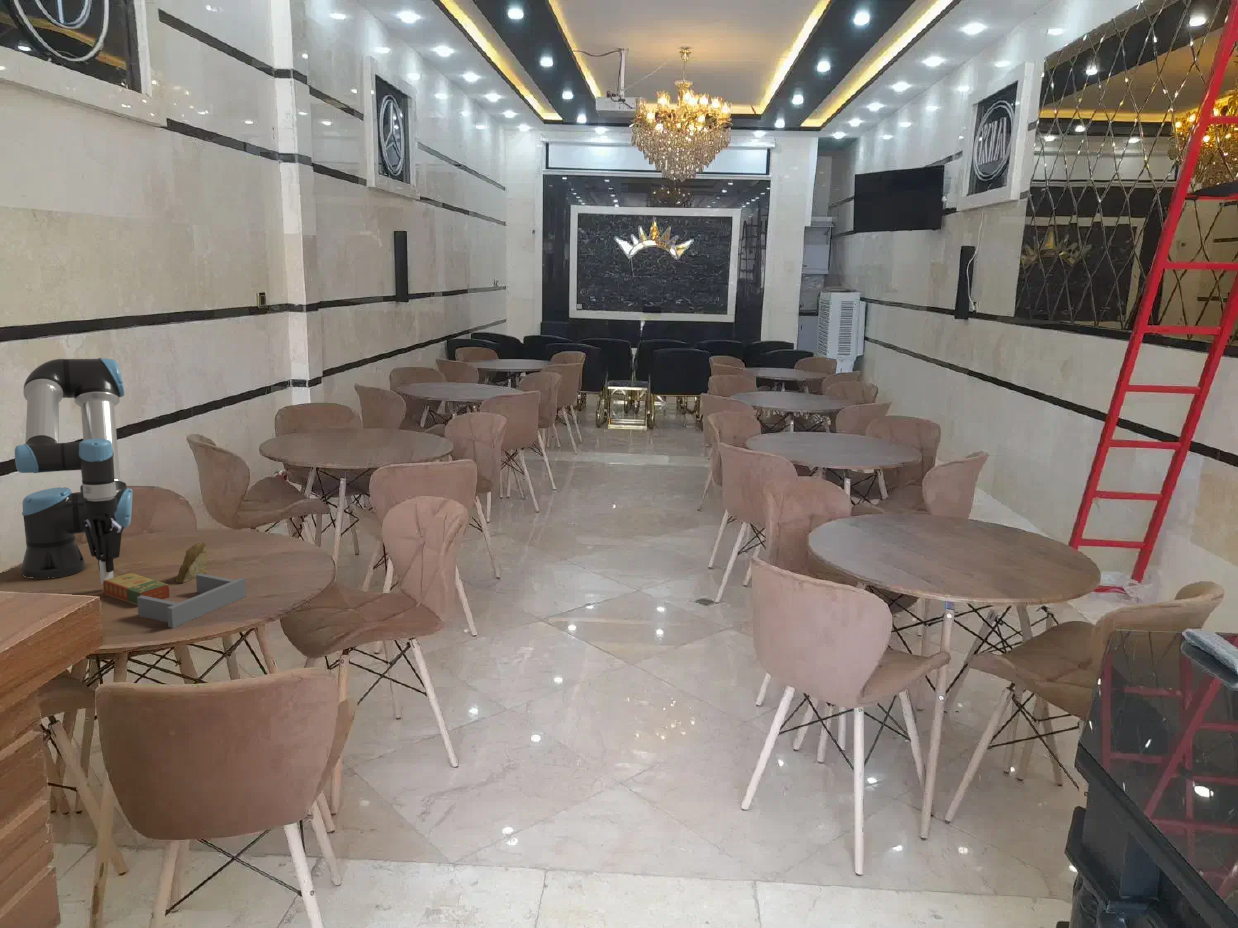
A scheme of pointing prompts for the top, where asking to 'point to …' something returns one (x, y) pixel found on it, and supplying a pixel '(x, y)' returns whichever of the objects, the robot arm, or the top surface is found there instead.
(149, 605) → the u stop
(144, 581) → the carton
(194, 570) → the rock
